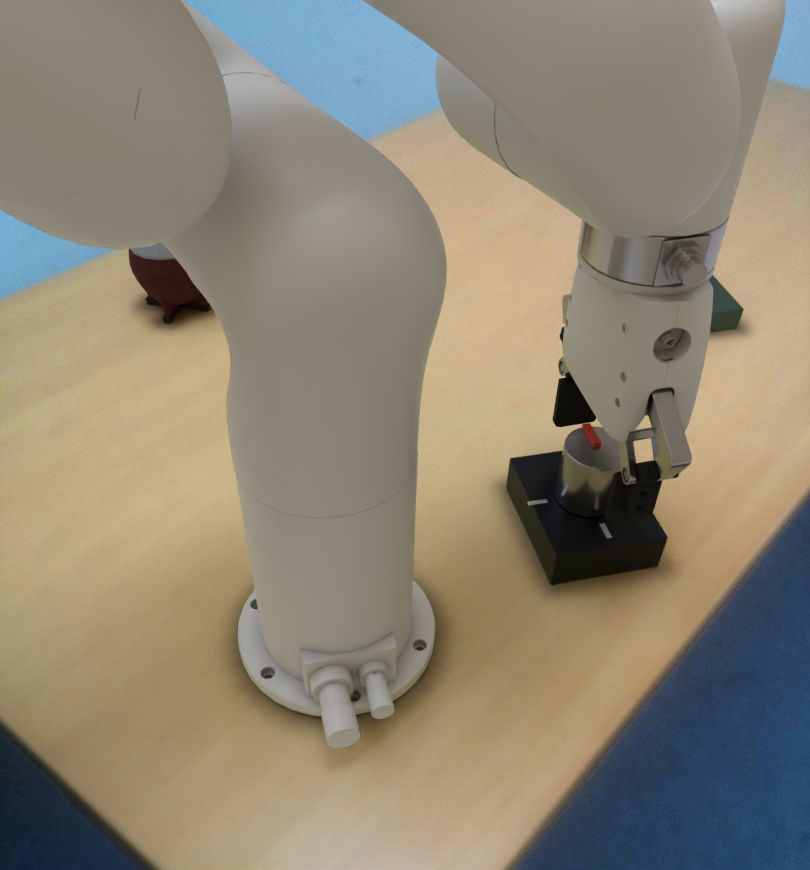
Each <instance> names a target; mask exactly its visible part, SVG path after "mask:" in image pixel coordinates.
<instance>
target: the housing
mask: <svg viewBox="0 0 810 870" xmlns="http://www.w3.org/2000/svg"><path fill="white" fill-rule="evenodd" d="M709 281H710V283H711V285H712V287H713V306H712V317H711V326H710V333H714V332H722V331H723V332H724V331H731V330H737V329H738V326H739V324H740V321H741V318H742V315H743V312H744V307H743V306H742V305H741V304H740V303H739V302H738V301H737V300H736V298H734V296H732V294H731V293H730V292H729V290H728V289H726V287H724V286H723V284H721V282H720V281H719V280H718V279H717V278H716V277H715V276H714V275H713V274H712V276H711V278H710V279H709Z"/></svg>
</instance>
